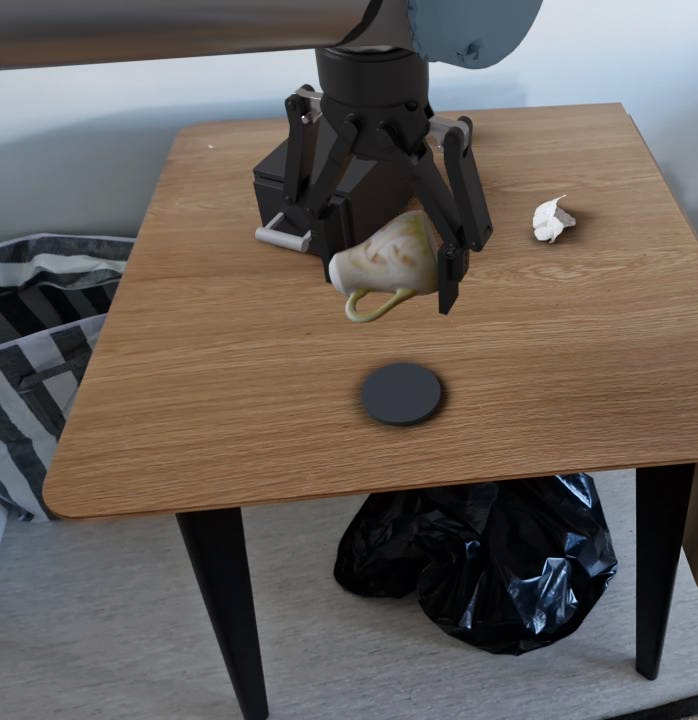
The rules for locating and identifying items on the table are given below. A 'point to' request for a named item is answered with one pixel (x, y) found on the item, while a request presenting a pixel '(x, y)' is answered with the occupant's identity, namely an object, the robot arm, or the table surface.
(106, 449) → the table surface
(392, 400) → the coaster
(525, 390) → the table surface
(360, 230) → the cabinet
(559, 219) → the tissue
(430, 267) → the mug
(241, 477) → the table surface
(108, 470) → the table surface
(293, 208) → the drawer
